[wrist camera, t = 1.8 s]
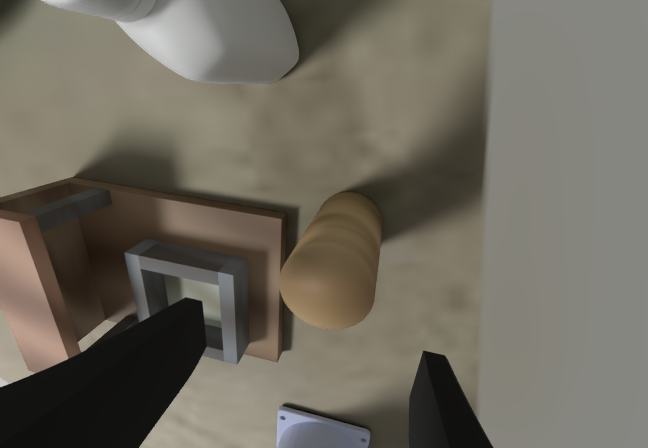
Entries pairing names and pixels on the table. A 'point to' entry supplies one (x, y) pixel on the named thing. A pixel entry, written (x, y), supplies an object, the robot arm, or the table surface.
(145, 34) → the eye dropper bottle
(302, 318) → the peg
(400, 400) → the table surface
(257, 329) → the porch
